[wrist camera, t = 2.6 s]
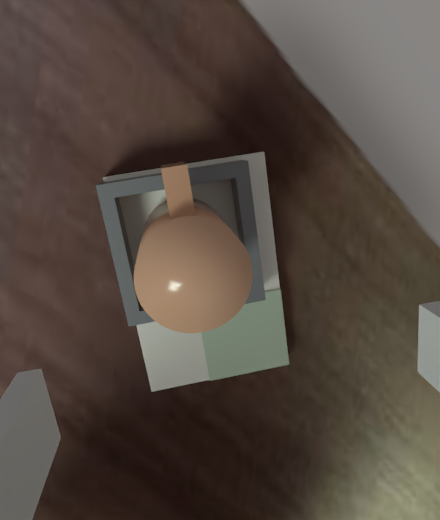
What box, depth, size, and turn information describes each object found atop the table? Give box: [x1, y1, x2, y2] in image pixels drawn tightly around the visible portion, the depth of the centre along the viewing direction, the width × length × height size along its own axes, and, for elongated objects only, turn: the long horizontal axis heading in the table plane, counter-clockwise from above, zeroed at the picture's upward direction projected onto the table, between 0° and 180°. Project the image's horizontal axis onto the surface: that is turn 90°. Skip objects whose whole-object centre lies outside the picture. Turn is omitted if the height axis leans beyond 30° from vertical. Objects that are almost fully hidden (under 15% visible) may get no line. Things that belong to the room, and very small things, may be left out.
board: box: [103, 152, 289, 392], centre depth 33 cm, size 12×18×1 cm, turn 8°
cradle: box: [96, 160, 266, 326], centre depth 30 cm, size 10×10×2 cm
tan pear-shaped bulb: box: [134, 162, 253, 333], centre depth 27 cm, size 9×6×10 cm
